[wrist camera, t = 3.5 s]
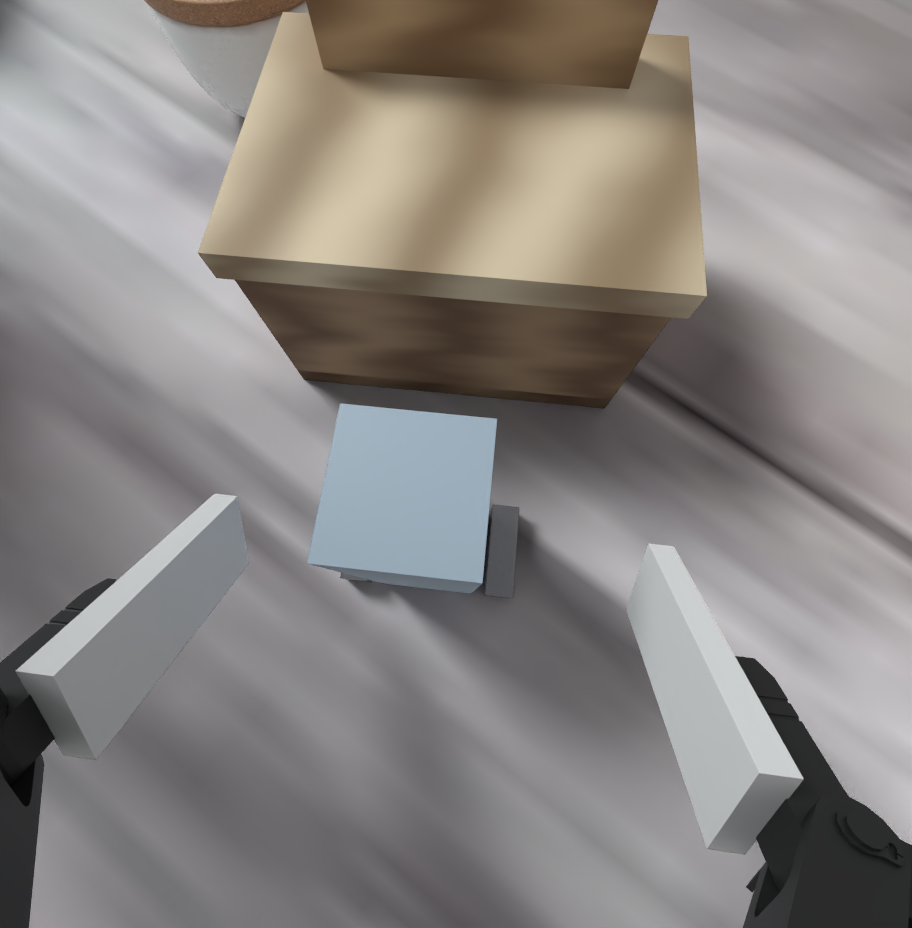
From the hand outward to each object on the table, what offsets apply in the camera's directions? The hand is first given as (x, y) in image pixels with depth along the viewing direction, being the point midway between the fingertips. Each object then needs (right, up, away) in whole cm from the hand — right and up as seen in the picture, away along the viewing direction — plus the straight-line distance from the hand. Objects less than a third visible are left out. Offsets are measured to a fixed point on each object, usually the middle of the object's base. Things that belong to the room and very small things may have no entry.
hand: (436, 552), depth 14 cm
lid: (+1, +15, +3) cm, 15 cm away
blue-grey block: (0, -1, +7) cm, 7 cm away
